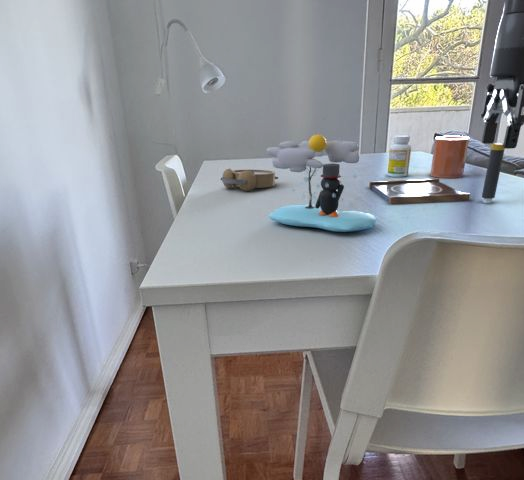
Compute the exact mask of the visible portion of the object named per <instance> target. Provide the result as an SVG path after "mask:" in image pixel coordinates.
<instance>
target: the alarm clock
mask: <svg viewBox="0 0 524 480" xmlns="http://www.w3.org/2000/svg"><path fill="white" fill-rule="evenodd" d="M276 180H279V176H276V171H273V170H267V169H234V170H232V168H226V169H225V170H224V171H223V172H222V176H221V177H220V181H221V182H222V184H223V186H224V187H225V188H226V189H228V190H231V189H233V187H239V189H240V190H242V191H244V192H250V191H253V190H254V189H257V188H270V187H275V186H276V184H275V183H276Z"/></svg>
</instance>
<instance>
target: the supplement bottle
mask: <svg viewBox="0 0 524 480" xmlns="http://www.w3.org/2000/svg"><path fill="white" fill-rule="evenodd" d="M410 137H411V136H410V135H407V134H405V135H404V134H399V135H394V136H393V138H392V139H393V140H392V143H393V144H391V145H390V146H389V153H388V164H387V176H389V177H392V178H393V177H394V178H404V177H407V176H408V175H409V168H410V159H411V155H412V153H411V151H412V146H411V145H410V144H409V143H410V140H411V139H410Z"/></svg>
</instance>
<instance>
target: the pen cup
mask: <svg viewBox="0 0 524 480" xmlns="http://www.w3.org/2000/svg"><path fill="white" fill-rule="evenodd" d="M469 142H470V137H469V136H463V135H462V136H460V135H443V136H436V137H435V139H434V145H433V151H432V160H431V167H430V176H431V177H433V178H437V179H457V178H462V177H464V173H465V172H464V171H465V166H466V160H467V156H468V155H467V154H468V149H469Z"/></svg>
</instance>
